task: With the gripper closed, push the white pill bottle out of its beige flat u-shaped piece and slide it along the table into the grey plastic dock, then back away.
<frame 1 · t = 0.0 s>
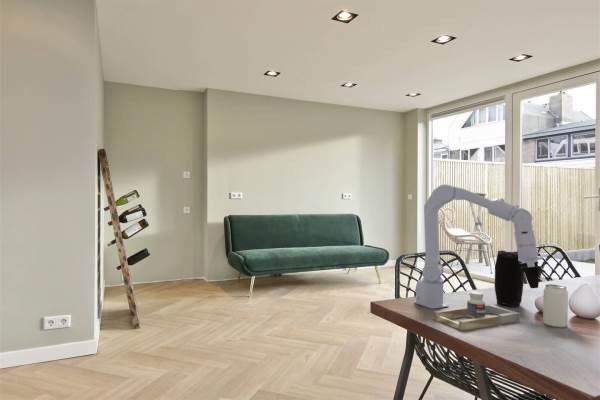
hand: (533, 285, 134), 11 cm above the table, tool pointing down, fingers open, 7 cm apart
beige flat u-shaped piece: (465, 321, 129), on the table
portable speaker: (508, 305, 150), on the table
dock: (495, 316, 134), on the table
can: (555, 325, 127), on the table
pill bottle: (475, 320, 131), on the table
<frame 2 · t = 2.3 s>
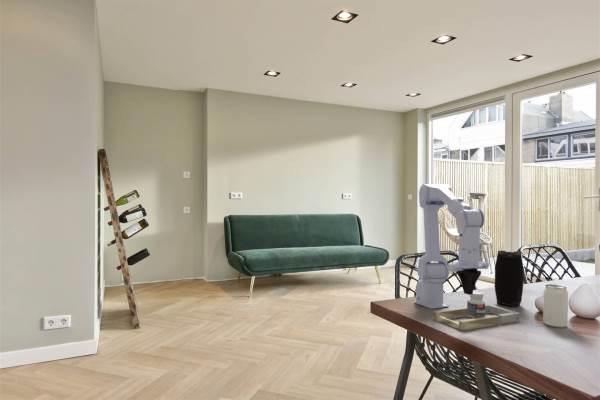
hand: (468, 293, 123), 10 cm above the table, tool pointing down, fingers closed
nothing on the table moved.
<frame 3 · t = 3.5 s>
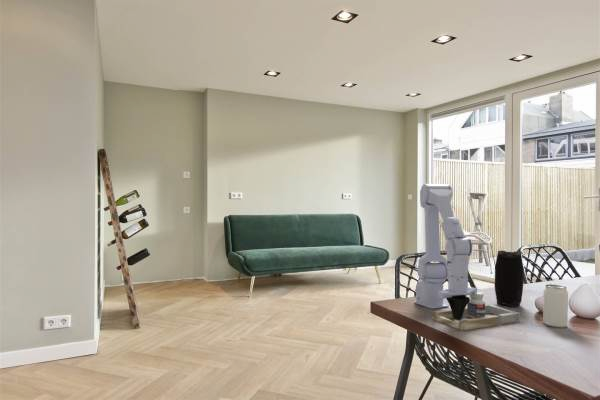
hand: (457, 319, 127), 1 cm above the table, tool pointing down, fingers closed
nothing on the table moved.
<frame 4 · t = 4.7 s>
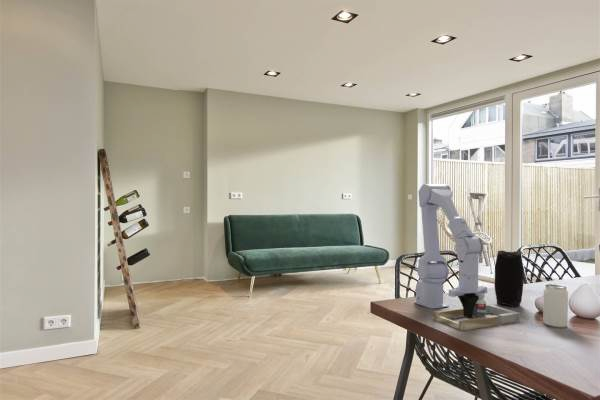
hand: (467, 317, 129), 1 cm above the table, tool pointing down, fingers closed, pressing on pill bottle
pill bottle: (475, 320, 130), on the table, touching gripper
everything else where it was.
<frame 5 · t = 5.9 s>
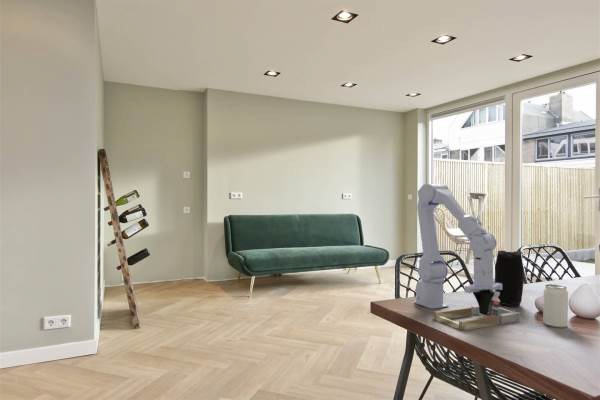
hand: (484, 313, 131), 2 cm above the table, tool pointing down, fingers closed, pressing on pill bottle
pill bottle: (487, 318, 132), on the table, touching gripper
everything else where it was.
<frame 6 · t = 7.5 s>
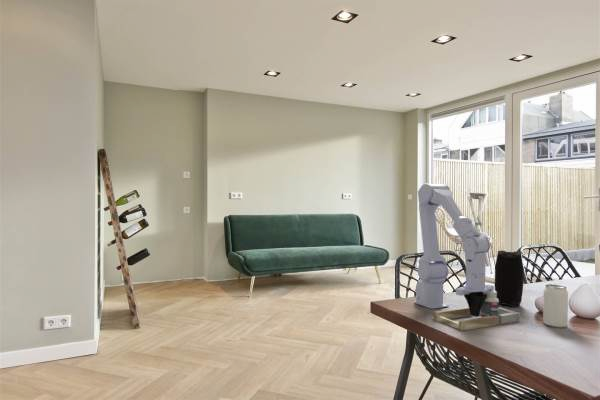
hand: (474, 315, 130), 1 cm above the table, tool pointing down, fingers closed
pill bottle: (489, 318, 133), on the table
everything else where it was.
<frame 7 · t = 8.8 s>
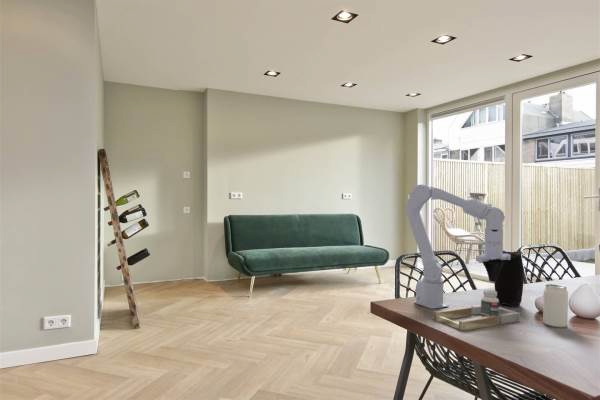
hand: (493, 281, 141), 10 cm above the table, tool pointing down, fingers closed
nothing on the table moved.
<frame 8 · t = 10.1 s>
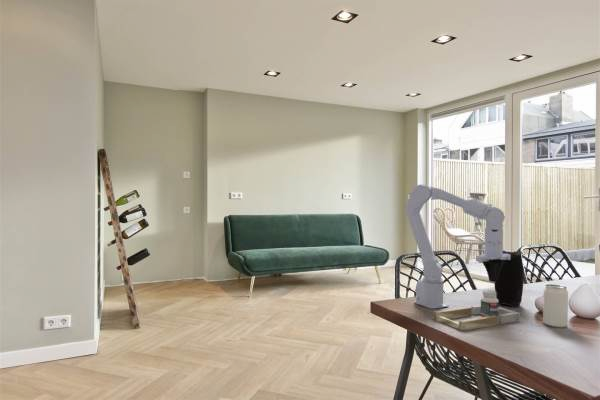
hand: (493, 281, 141), 10 cm above the table, tool pointing down, fingers closed
nothing on the table moved.
at the end: pill bottle inside the target area on the dock (2.1 cm from its centre), point 0.0 cm above the dock's base; pill bottle tilted 2°; pill bottle moved 5.8 cm from its start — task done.
